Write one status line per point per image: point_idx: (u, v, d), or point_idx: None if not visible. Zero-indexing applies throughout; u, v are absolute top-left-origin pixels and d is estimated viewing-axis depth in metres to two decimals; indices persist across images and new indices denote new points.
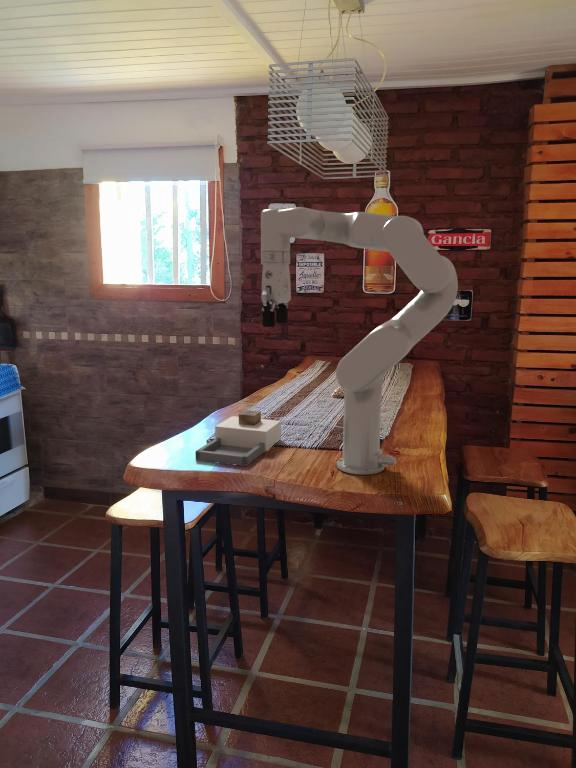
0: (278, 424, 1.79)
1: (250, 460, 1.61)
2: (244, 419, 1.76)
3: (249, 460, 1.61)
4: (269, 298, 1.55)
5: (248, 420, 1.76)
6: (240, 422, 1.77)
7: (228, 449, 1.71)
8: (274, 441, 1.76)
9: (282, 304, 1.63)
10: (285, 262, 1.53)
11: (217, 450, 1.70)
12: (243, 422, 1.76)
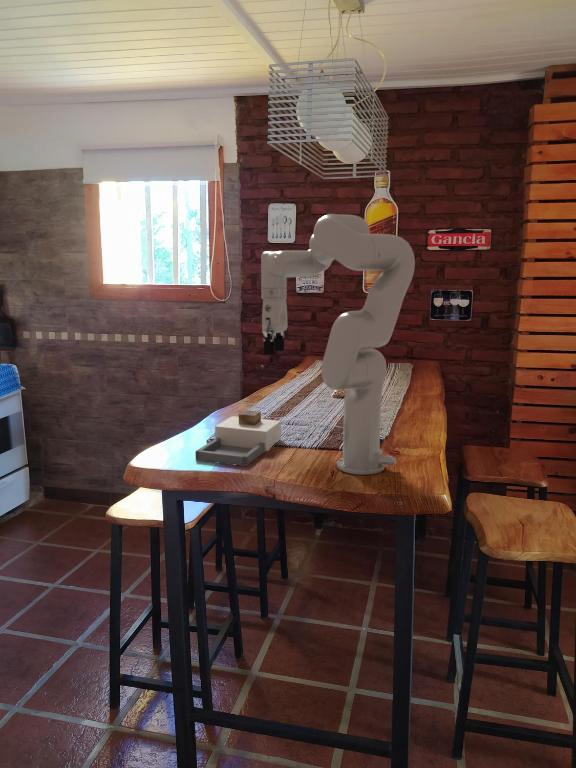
0: (278, 424, 1.79)
1: (250, 460, 1.61)
2: (244, 419, 1.76)
3: (249, 460, 1.61)
4: (269, 329, 1.78)
5: (248, 420, 1.76)
6: (240, 422, 1.77)
7: (228, 449, 1.71)
8: (274, 441, 1.76)
9: (279, 334, 1.85)
10: (282, 297, 1.76)
11: (217, 450, 1.70)
12: (243, 422, 1.76)
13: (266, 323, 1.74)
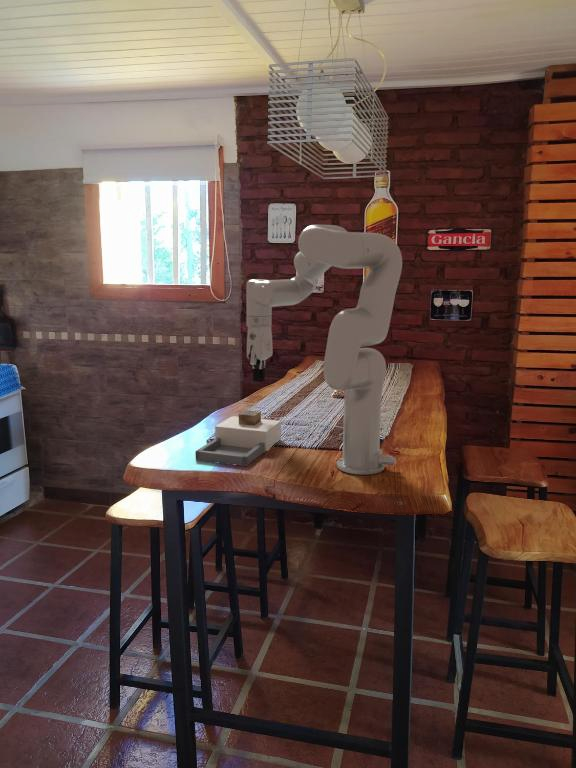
0: (278, 424, 1.79)
1: (250, 460, 1.61)
2: (244, 419, 1.76)
3: (249, 460, 1.61)
4: None
5: (248, 420, 1.76)
6: (240, 422, 1.77)
7: (228, 449, 1.71)
8: (274, 441, 1.76)
9: None
10: (267, 325, 1.77)
11: (217, 450, 1.70)
12: (243, 422, 1.76)
13: (252, 355, 1.78)
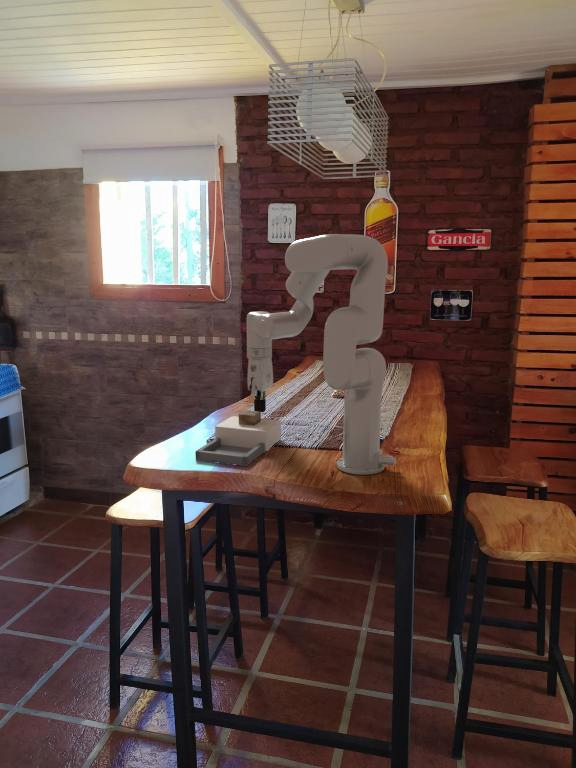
0: (278, 424, 1.79)
1: (250, 460, 1.61)
2: (244, 419, 1.76)
3: (249, 460, 1.61)
4: None
5: (248, 420, 1.76)
6: (240, 422, 1.77)
7: (228, 449, 1.71)
8: (274, 441, 1.76)
9: None
10: (267, 357, 1.79)
11: (217, 450, 1.70)
12: (243, 422, 1.76)
13: (253, 386, 1.79)
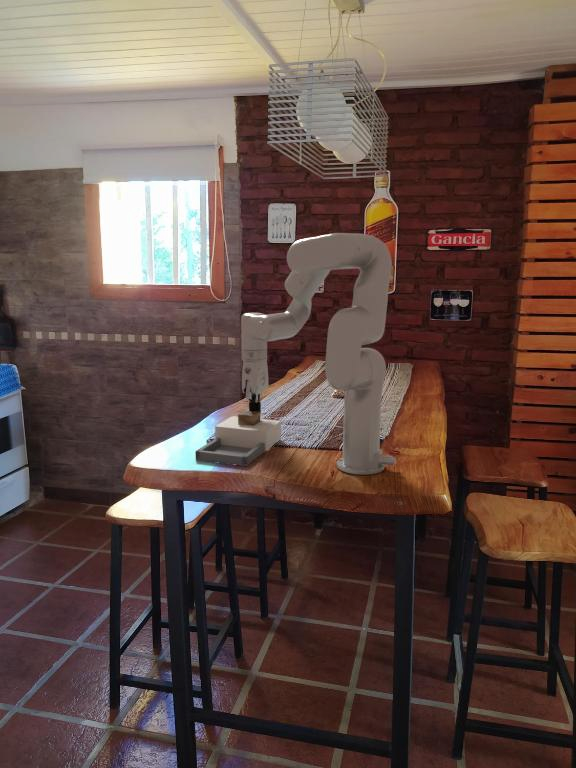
0: (278, 424, 1.79)
1: (250, 460, 1.61)
2: (243, 419, 1.76)
3: (249, 460, 1.61)
4: None
5: (247, 420, 1.75)
6: (239, 422, 1.77)
7: (228, 449, 1.71)
8: (274, 441, 1.76)
9: None
10: (262, 359, 1.76)
11: (217, 450, 1.70)
12: (242, 422, 1.76)
13: (248, 389, 1.76)
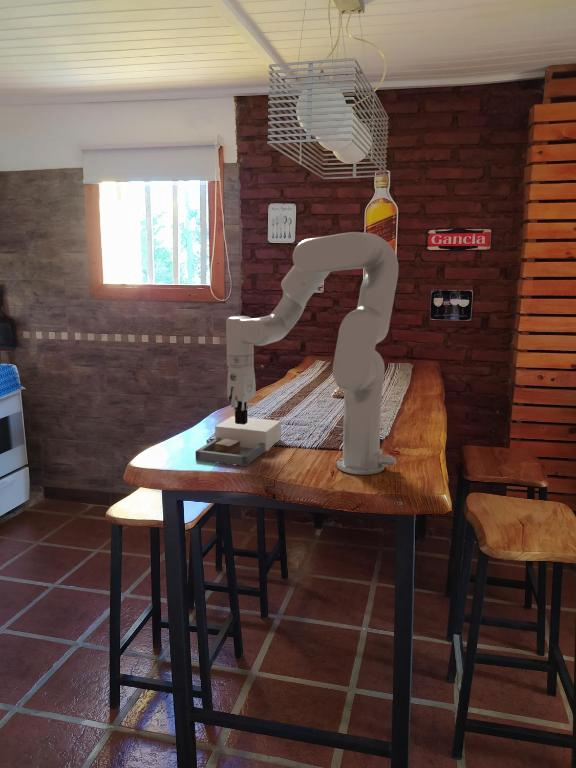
0: (278, 424, 1.79)
1: (250, 460, 1.61)
2: None
3: (249, 460, 1.61)
4: None
5: None
6: None
7: None
8: (274, 441, 1.76)
9: None
10: (248, 365, 1.66)
11: None
12: None
13: (233, 397, 1.66)
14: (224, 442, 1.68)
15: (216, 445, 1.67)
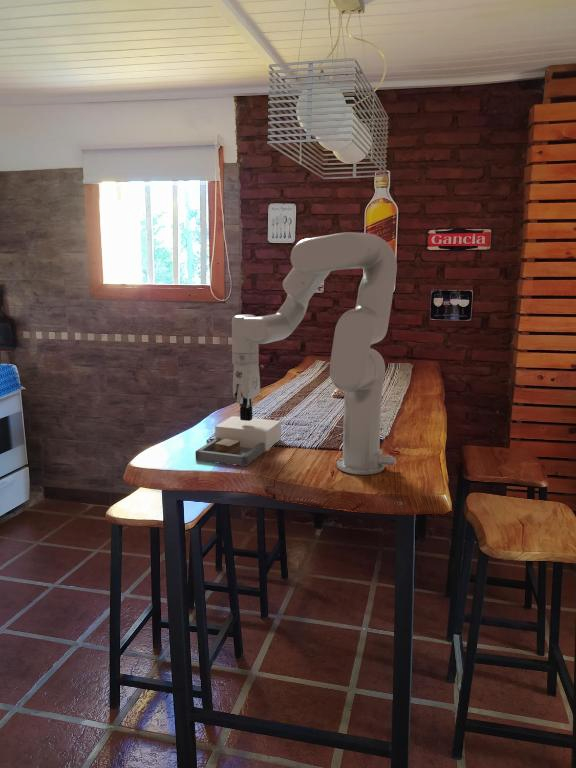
0: (278, 424, 1.79)
1: (250, 460, 1.61)
2: None
3: (249, 460, 1.61)
4: None
5: None
6: None
7: None
8: (274, 441, 1.76)
9: None
10: (254, 362, 1.70)
11: None
12: None
13: (239, 394, 1.70)
14: (224, 442, 1.68)
15: (216, 445, 1.67)
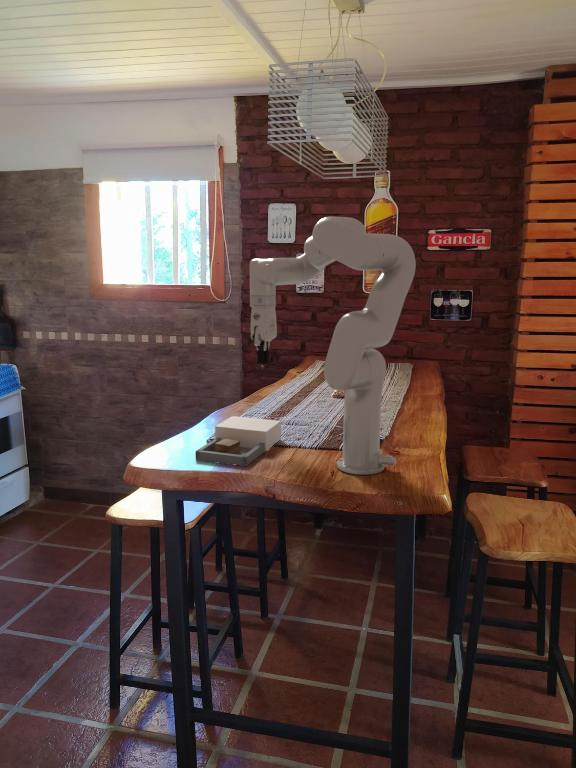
0: (278, 424, 1.79)
1: (250, 460, 1.61)
2: None
3: (249, 460, 1.61)
4: (259, 337, 1.77)
5: None
6: None
7: None
8: (274, 441, 1.76)
9: None
10: (271, 305, 1.74)
11: None
12: None
13: (256, 336, 1.74)
14: (224, 442, 1.68)
15: (216, 445, 1.67)
